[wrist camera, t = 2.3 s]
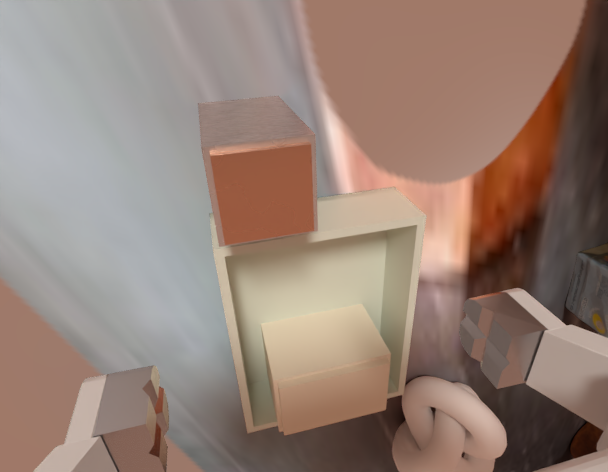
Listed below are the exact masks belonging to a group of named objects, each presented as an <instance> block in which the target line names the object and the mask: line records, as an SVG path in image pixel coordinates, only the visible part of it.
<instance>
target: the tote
mask: <svg viewBox="0 0 608 472" xmlns="http://www.w3.org/2000/svg"><path fill="white" fill-rule="evenodd" d="M317 213H318V231H316V232H310V233H304V234H298V235H291V236H285V237H279V238H273V239H267V240H260V241H254V242H248V243H242V244H235V245H229V246H223V247H219V244H218V238H217V232H216V227H215V221H214V215H213V213H211V214H210V223H211V234H212V245H213V253H214V258H215V263H216V269H217V274H218V279H219V285H220V290H221V295H222V301H223V306H224V311H225V317H226V322H227V327H228V333H229V338H230V343H231V348H232V354H233V359H234V364H235V370H236V375H237V380H238V386H239V391H240V396H241V402H242V407H243V412H244V418H245V423H246V428H247V433H251V432H255V431H259V430H263V429H267V428H271V427H275V426H278V423H277V418H276V413H275V409H274V404H273V399H272V394H271V389H270V385H269V380H268V375H267V368H266V361H265V353H264V345H263V338H262V330H261V324H263V323H268V322H273V321H278V320H283V319H288V318H293V317H298V316H303V315H308V314H313V313H318V312H323V311H328V310H333V309H338V308H343V307H348V306H353V305H358V304H363V306H364V308H365V309H366V311H367V313H368V315H369V316H370V318H371V320H372V322H373V323H374V325H375V327H376V329H377V330H378V332H379V334H380V336H381V337H382V339H383V341H384V342H385V344H386V346H387V348H388V349H389V351H390V353H391V359H390V372H389V383H388V393H387V399H388V398H392V397H396V396H400V395H404V389H405V381H406V373H407V366H408V358H409V350H410V342H411V334H412V326H413V318H414V310H415V302H416V294H417V286H418V279H419V271H420V263H421V255H422V247H423V239H424V231H425V223H426V215H425V214H424V213H423V212H422V211H421V210H420V209H418V208H417V207H416V206H415V205H414V204H413V203H412V202H411V201H410V200H408V199H407V198H406V197H405V196H404V195H403V194H402V193H401V192H399V191H398V190H397V189H396V188H395V187H390V188H383V189H376V190H369V191H362V192H355V193H349V194H342V195H335V196H328V197H321V198H317Z"/></svg>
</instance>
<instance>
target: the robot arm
mask: <svg viewBox="0 0 608 472" xmlns="http://www.w3.org/2000/svg"><path fill="white" fill-rule="evenodd" d="M463 311H464V312H465V314H466V315H467V316H466V317H465V319H464V320H463V321H462V322H461V324H460V331H459V334H460V338H461V342H462V344H463V346H464V348H465V350H466V351H467V353H468V354H469V355H470V357H472V358H474V359H476V360H478V361H480V362H481V370H482V371H483V373H484V374H485V375H486V376H487V378H488V379H489V380H490V381H491V382H492V384H493V385H494V386H495V387H496V389H499V388H503V387H508V386H512V385H516V384H521V383H525V382H526V384H527V385H528V386H530V387H532V388H533V389H535V390H537V391H538V392H540V393H542V394H543V395H545V396H547V397H548V398H550V399H552V400H553V401H555V402H557V403H558V404H560V405H562V406H563V407H565V408H567V409H568V410H570V411H572V412H573V413H575V414H577V415H578V416H580V417H582V418H583V419H585V420H587V421H588V422H590V423H591V424H593V425H595V426H596V427H598V428H600V429H601V430H603V431H604V432H603V433H602V435H601V437H600V439H599V441H598V443H597V451H598V452H594V453H591V454H588V455H585V456H582V457H578V458H575V459H572V460H569V461H565V462H562V463H559V464H556V465H553V466H549V467H546V468H543V469H540V470H536V471H533V472H608V338H607V337H604V336H601V335H598V334H596V333H593V332H590V331H588V330H585V329H582V328H579V327H577V326H574V325H567V326H566V325H565V324H564V323H563V322H562V321H560V320H559V319H558V318H557V317H556V316H554V315H553V314H552V313H551V312H550V311H548V310H547V309H546V308H545V307H544V306H542V305H541V304H540V303H539V302H538V301H536V300H535V299H534V298H533V297H532V296H531V295H529V294H528V293H527V292H526V291H525V290H523V289H520V288H515V289H511V290H506V291H502V292H497V293H493V294H488V295H484V296H479V297H475V298H470V299H468V300H467V301H466V302H465V305H464V309H463ZM159 379H160V376H159V373H158V370H157V367H156V366H154V365H153V366H148V367H142V368H137V369H131V370H126V371H121V372H115V373H110V374H107V375H102V376H96V377H91V378H86V379H85V380H84V382H83V383H82V385H81V388H80V391H79V395H78V398H77V401H76V405H75V408H74V412H73V415H72V418H71V422H70V425H69V429H68V432H67V436H66V439H65V443H64V445H60V446H56V447H55V449H54V450H53V451H52V452H51V453H50V454H49V455H48V456H47V457H46V458H45V459H44V461H43V462H42V463H41V464H40V465H39V466H38V467H37V468H36V469H35V470H34V471H33V472H166V466H167V448H168V447H167V444H166V441H165V438H164V435H165V434H166V432H167V431H168V428H169V413H168V403H167V398H166V394H165V391H164V389H163V388H161V387H160V386H159Z"/></svg>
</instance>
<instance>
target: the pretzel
mask: <svg viewBox="0 0 608 472" xmlns="http://www.w3.org/2000/svg"><path fill="white" fill-rule="evenodd" d="M430 407H434V408H436V411H432V410H431V408H430ZM402 409H403V413H404V416H405V419H406V420H405V421H404V422H403V423H402V424H401V425H400V426H399V428H398V430H397V431H396V434H395V437H394V440H393V445H392V455H393V459H394V462H395V464H396V467H397V470H398V471H399V472H493V469H494V462H495V458H497V457H500V456H501V455H502V454H503V452H504V451H505V449H506V447H507V439H506V432H505V429H504V427H503V425H502V424H501V422H500V421H499V419H498V418H497V417H496V416H495V414H494V413H493V412H492V411H491V410H490V409H489V408H488V407H487V406H486V405H485V404H484V403H483V402H482V401H481V400H480V398H479V397H478V396H477V394H476V393H475V392H474V391H473V390H472V389H471V387H469V386H468V385H465V384H462V383H460V382H455V383H452V382H449V381H446V380H444V379H441V378H437V377H432V376H421V377H417V378H415V379H413V380H412V381H410V382H409V383H408V384H406V386H405V389H404V395H402ZM420 449H421V451H420ZM462 452H465V455H464V458H463V457H462V456H461V455H462Z"/></svg>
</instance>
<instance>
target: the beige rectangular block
mask: <svg viewBox="0 0 608 472" xmlns="http://www.w3.org/2000/svg"><path fill="white" fill-rule="evenodd" d="M261 330H262V338H263V345H264V353H265V361H266V368H267V375H268V380H269V385H270V389H271V394H272V399H273V404H274V409H275V413H276V418H277V423H278V428H279V432H282V431H283V432H284V436H285V435H289V434H293V433H297V432H301V431H305V430H309V429H313V428H317V427H321V426H325V425H329V424H333V423H337V422H341V421H344V420H348V419H352V418H356V417H360V416H364V415H368V414H372V413H376V412H380V411H384V410H386V404H387V393H388V383H389V372H390V359H391V353H390V351H389V349H388V348H387V346H386V344H385V342H384V341H383V339H382V337H381V336H380V334H379V332H378V330H377V329H376V327H375V325H374V323H373V322H372V320H371V318H370V316H369V315H368V313H367V311H366V309H365V308H364V306H363V304H358V305H353V306H348V307H343V308H338V309H333V310H328V311H323V312H318V313H313V314H308V315H303V316H298V317H293V318H288V319H283V320H278V321H273V322H268V323H263V324H261Z"/></svg>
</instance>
